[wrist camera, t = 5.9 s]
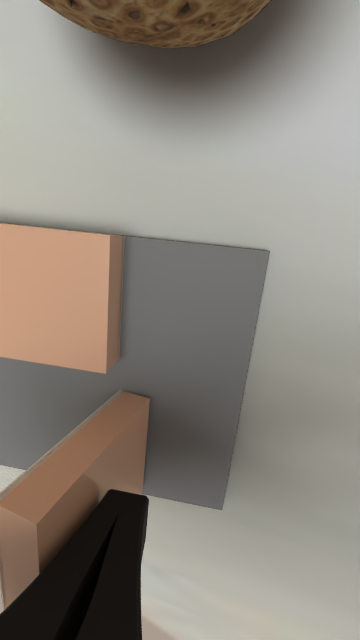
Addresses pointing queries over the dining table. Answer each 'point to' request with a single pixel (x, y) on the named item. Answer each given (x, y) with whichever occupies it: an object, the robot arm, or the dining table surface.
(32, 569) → the tile
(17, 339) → the tile
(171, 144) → the dining table surface
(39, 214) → the dining table surface
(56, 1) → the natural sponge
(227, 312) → the mat
